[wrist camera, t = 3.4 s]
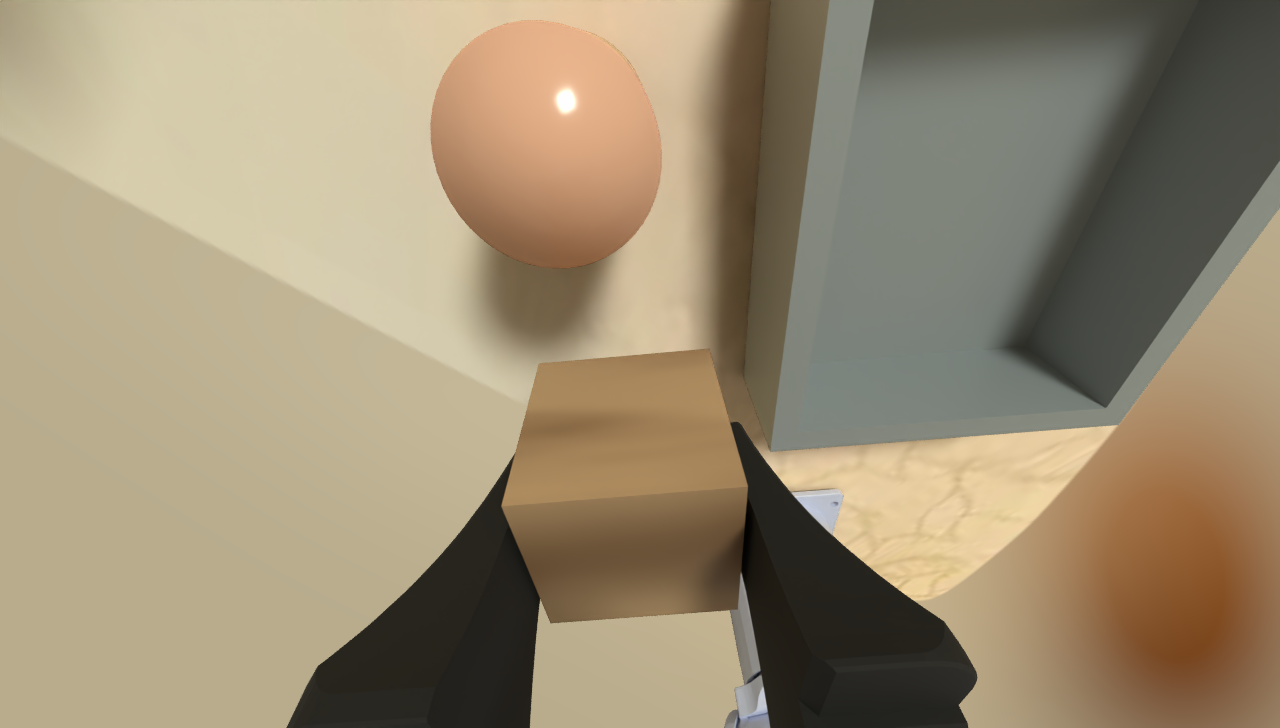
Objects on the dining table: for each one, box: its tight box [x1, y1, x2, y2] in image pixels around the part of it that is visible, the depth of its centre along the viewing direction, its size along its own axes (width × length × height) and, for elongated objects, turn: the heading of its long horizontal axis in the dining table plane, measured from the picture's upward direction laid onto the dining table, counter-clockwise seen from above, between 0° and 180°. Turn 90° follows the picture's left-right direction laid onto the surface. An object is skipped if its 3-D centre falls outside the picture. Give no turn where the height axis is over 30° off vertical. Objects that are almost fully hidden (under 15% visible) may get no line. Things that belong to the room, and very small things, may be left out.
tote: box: [744, 0, 1280, 452], centre depth 15 cm, size 18×14×5 cm
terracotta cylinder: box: [431, 20, 662, 268], centre depth 13 cm, size 5×5×7 cm
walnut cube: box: [501, 349, 748, 623], centre depth 13 cm, size 5×5×5 cm
